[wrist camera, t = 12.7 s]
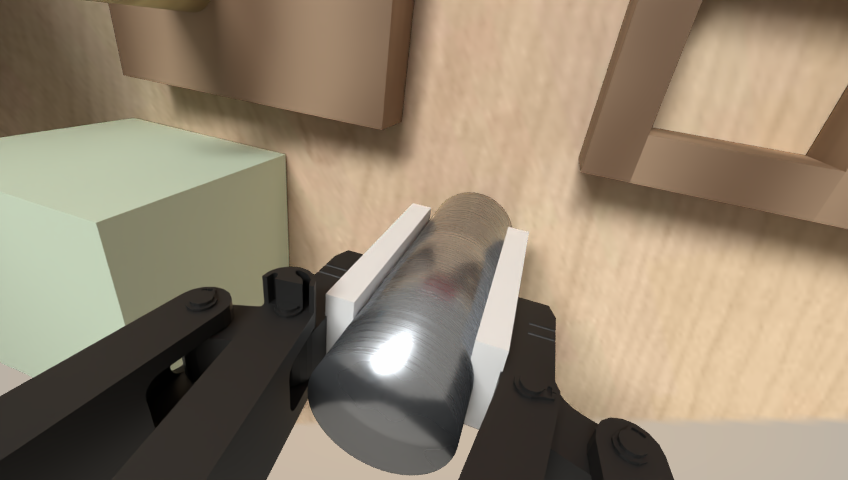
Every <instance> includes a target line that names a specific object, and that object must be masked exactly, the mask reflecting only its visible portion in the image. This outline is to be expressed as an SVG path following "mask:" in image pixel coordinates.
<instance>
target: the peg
mask: <svg viewBox="0 0 848 480" xmlns="http://www.w3.org/2000/svg"><path fill="white" fill-rule="evenodd" d="M508 227H511V223H510V220H509V217H508V215H507V213H506V212H505V210H504V209H503V208H502V207H501V206H500V205H499V204H498V203H497V202H496V201H494V200H493V199H491V198H490V197H487V196H485V195H482V194H478V193H461V194H457V195H455V196H452V197H450V198H449V199H447V200H446V201H445V202H444V203H443V204H442V205H441V206H440V207H439V209H438V210H437V211H436V212H435V214H434V215H433V216H432V218H431V219H430V220H429V222H428V223H427V224H426V226H425V227H424V228H423V229H422V231H421V232H420V233H419V235H418V236H417V237H416V239H415V240H414V241H413V242H412V244H411V245H410V246H409V248H408V249H407V250H406V252H405V253H404V254H403V255H402V257H401V258H400V259H399V261H398V262H397V263H396V265H395V266H394V267H393V268H392V270H391V271H390V272H389V274H388V275H387V276H386V278H385V279H384V280H383V281H382V283H381V284H380V285H379V287H378V288H377V289H376V291H375V292H374V293H373V294H372V296H371V297H370V298H369V300H368V301H367V302H366V304H365V305H364V306H363V308H362V309H361V310H360V311H359V313H358V314H357V315H356V317H355V318H354V319H353V320H352V322H351V323H350V324H349V325H348V327H347V328H346V329H345V331H344V332H343V333H342V335H341V336H340V337H339V338H338V340H337V341H336V342H335V344H334V345H333V346H332V348H331V349H330V350H329V351H328V353H327V354H326V355H325V357H324V358H323V359H322V361H321V362H320V363H319V364H318V366H317V367H316V368H315V370H314V371H313V372H312V374H311V376H310V379H309V383H308V391H307V392H308V400H309V404H310V407H311V410H312V413H313V415H314V417H315V418H316V420H317V422H318V423H319V425H320V426H321V428H322V429H323V430H324V432H325V433H326V434H327V435H328V436H329V437H330V438H331V439H332V440H333V441H334V442H335V443H336V444H337V445H338V446H339V447H340V448H342V449H343V450H344V451H346V452H347V453H348V454H350V455H351V456H353V457H354V458H356V459H358V460H360V461H361V462H363V463H365V464H367V465H370V466H372V467H375V468H377V469H380V470H383V471H386V472H390V473H395V474H400V475H422V474H428V473H431V472H434V471H437V470H439V469H441V468H442V467H444V466H445V465H446V464H447V463H448V462H449V461H450V460H451V459H452V458H453V456H454V455H455V453H456V450H457V447H458V443H459V439H460V436H461V432H462V428H463V424H464V420H465V416H466V412H467V408H468V404H469V401H470V397H471V393H472V389H473V384H474V371H473V365H472V362H471V356H472V352H473V348H474V344H475V340H476V337H477V333H478V330H479V326H480V323H481V319H482V316H483V313H484V309H485V306H486V302H487V299H488V295H489V292H490V288H491V285H492V282H493V278H494V275H495V271H496V268H497V264H498V261H499V257H500V254H501V251H502V247H503V244H504V240H505V237H506V233H507V230H508Z"/></svg>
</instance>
